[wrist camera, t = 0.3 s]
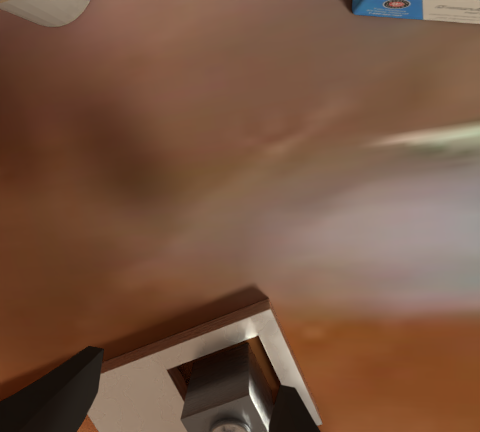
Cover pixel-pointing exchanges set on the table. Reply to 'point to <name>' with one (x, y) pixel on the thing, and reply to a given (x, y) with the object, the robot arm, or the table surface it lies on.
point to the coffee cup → (46, 10)
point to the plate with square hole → (171, 381)
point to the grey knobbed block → (228, 394)
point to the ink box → (421, 9)
